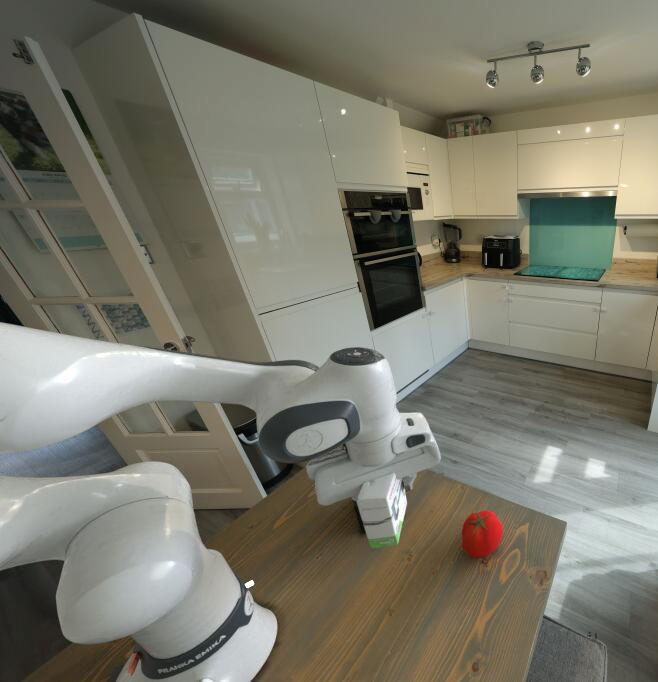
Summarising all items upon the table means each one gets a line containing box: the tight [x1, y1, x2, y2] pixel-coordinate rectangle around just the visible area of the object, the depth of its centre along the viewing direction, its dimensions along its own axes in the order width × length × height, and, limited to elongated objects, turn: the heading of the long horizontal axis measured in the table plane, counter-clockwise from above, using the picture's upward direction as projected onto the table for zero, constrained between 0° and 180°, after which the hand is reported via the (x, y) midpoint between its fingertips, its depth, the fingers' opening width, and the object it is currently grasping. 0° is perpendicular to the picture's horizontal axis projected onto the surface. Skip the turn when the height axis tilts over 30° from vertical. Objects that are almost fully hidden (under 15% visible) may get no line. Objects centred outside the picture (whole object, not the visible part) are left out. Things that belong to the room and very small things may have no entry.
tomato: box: [461, 509, 504, 559], centre depth 72 cm, size 9×10×8 cm
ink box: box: [357, 473, 408, 549], centre depth 55 cm, size 9×5×12 cm, turn 6°
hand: (388, 496), depth 58 cm, fingers closed on ink box, 6 cm apart
